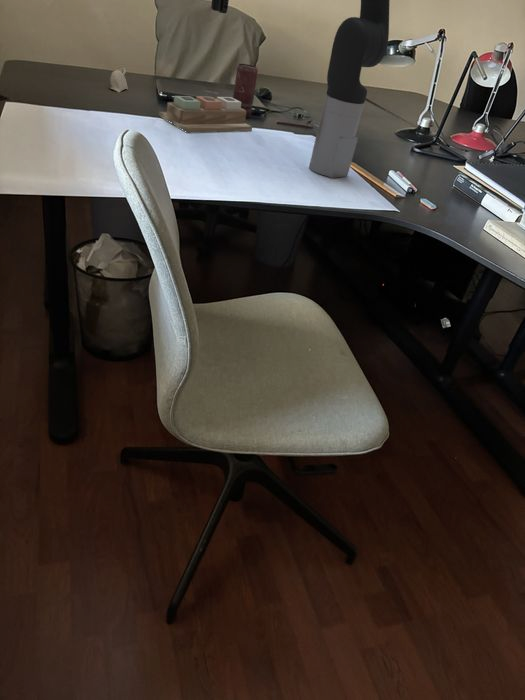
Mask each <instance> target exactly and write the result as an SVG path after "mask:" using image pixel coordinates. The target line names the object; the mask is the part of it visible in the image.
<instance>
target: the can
mask: <svg viewBox="0 0 525 700" xmlns="http://www.w3.org/2000/svg"><path fill="white" fill-rule="evenodd" d="M258 71H259V70H258V67H257V66H256V65H255V66H254V65H252V64H247V63H238V65H237V67H236V75H235V83H234V87H233V88H234V90H233V96H232V98H234V99H236V100H238V101H240V102H241V108H242V109H244V110H246V111H247V112H246V118H245V120H247V119H249V118H250V117H251V115H252V110H253V104H254V96H255V90H256V85H257V84H256V83H257V80H258V73H259V72H258Z"/></svg>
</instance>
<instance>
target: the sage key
mask: <svg viewBox="0 0 525 700" xmlns="http://www.w3.org/2000/svg"><path fill="white" fill-rule="evenodd" d="M173 102H174V105H175V106H177V107H179V108H181V109H182V110H200V101H198V100H196V98H194V97H193V96H189V95H174V97H173Z"/></svg>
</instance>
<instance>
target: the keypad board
mask: <svg viewBox="0 0 525 700" xmlns="http://www.w3.org/2000/svg"><path fill="white" fill-rule="evenodd" d="M158 112H159V113H158V117H160V118H161V119H163V120H164V121H166V120H168V121H170V122H172V123H173V124H175V125H176V126H178V127H179V128H181V129H183V130H184V131H186V132H206V133H216V132H215V131H219V132H218V133H233V132H232V131H240V132H252V130H253V126H252V125H251V124H248V123H246V119H245V118H246V112H247V111H246V110H244V109H242V108H241V109H240V110H225V109H223V108H221V110H204V109H202V108H201V107H200V110H182V109H181V108H179V107H177V106H175V105H174V101H167V103H166V111H158ZM168 121H167V122H168ZM173 124H172V125H173ZM176 126H175V127H176ZM178 127H177V128H178ZM179 128H178V129H179ZM181 129H180V130H181ZM183 130H182V131H183ZM184 131H183V132H184ZM186 132H185V133H186Z"/></svg>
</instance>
